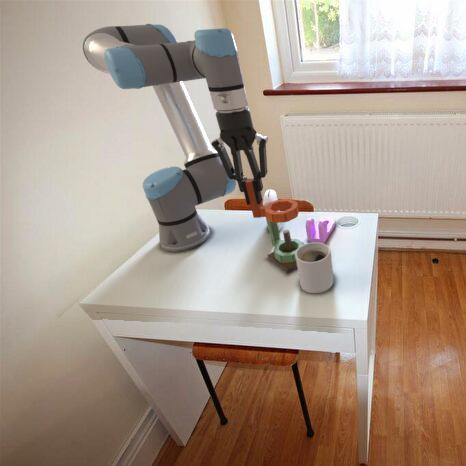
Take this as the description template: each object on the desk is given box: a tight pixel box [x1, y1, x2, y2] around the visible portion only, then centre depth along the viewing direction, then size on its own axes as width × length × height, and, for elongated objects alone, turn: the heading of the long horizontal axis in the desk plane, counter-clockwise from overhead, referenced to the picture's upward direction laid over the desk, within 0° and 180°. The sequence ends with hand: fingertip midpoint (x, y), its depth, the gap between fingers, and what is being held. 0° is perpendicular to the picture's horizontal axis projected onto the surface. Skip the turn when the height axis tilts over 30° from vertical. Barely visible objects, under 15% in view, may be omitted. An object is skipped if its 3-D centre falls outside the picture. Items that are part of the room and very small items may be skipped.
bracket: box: [305, 217, 336, 244], centre depth 106 cm, size 13×6×7 cm, turn 163°
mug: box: [295, 241, 335, 294], centre depth 85 cm, size 11×10×10 cm
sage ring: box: [265, 217, 305, 263], centre depth 94 cm, size 12×8×10 cm
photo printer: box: [262, 189, 282, 231], centre depth 110 cm, size 10×4×12 cm, turn 8°
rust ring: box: [245, 178, 300, 224], centre depth 85 cm, size 12×8×10 cm
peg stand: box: [266, 229, 298, 274], centre depth 94 cm, size 10×10×10 cm
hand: (254, 201), depth 86 cm, fingers closed on rust ring, 2 cm apart
